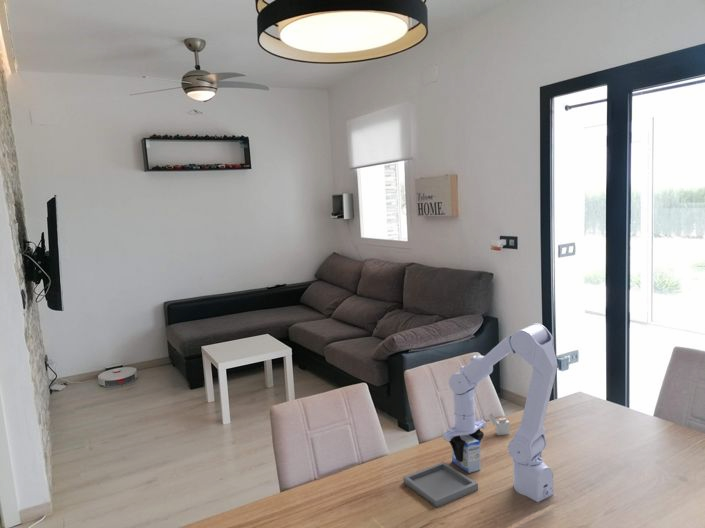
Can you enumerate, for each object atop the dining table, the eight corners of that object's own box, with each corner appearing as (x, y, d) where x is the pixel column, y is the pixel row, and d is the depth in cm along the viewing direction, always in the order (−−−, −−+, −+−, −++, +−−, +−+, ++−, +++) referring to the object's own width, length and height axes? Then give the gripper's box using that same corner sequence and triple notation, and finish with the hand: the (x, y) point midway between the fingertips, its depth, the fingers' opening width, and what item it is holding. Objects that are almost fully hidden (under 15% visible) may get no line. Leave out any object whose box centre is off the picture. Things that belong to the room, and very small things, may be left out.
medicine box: (451, 461, 147) (450, 433, 146) (464, 458, 149) (462, 430, 148) (468, 474, 140) (467, 444, 139) (481, 469, 142) (480, 440, 141)
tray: (478, 489, 132) (477, 483, 131) (436, 507, 125) (436, 501, 125) (443, 467, 144) (443, 461, 144) (403, 483, 137) (403, 476, 137)
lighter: (507, 432, 163) (506, 409, 163) (510, 434, 162) (509, 411, 161) (487, 435, 162) (486, 411, 162) (489, 437, 161) (488, 413, 160)
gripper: (473, 402, 149) (475, 445, 151) (435, 414, 142) (437, 459, 144) (490, 409, 143) (492, 454, 145) (452, 422, 136) (453, 469, 138)
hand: (466, 457), depth 144 cm, fingers closed on medicine box, 5 cm apart
